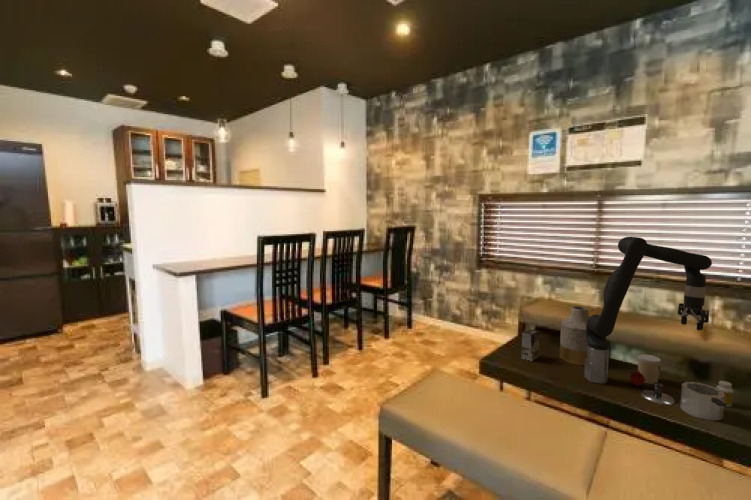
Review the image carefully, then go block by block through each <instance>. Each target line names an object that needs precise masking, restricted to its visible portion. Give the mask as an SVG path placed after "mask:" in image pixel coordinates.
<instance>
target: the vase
mask: <svg viewBox="0 0 751 500" xmlns="http://www.w3.org/2000/svg"><path fill="white" fill-rule="evenodd" d="M589 317H590V314H589V309H588V307H585V306H580V305H579V306H578V305H575V306H571V309H570V312H569V315H568V317H567V318H565V319H563V320H561V322H560V338H559V339H560V340H559V341H560V342H559V358H560V359H561V360H563V361H564V362H566V363H569V364H573V365H576V366H577V365H578V366H583V367H585V359H587V349H588V342H587V338H586V324H587V320H588V318H589Z"/></svg>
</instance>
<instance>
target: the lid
mask: <svg viewBox="0 0 751 500" xmlns="http://www.w3.org/2000/svg"><path fill="white" fill-rule="evenodd" d="M652 385H653V386H654V388H653V390H651V389H645V390H642V391H641V392H640V394H641V396H642V398H644V399H645V400H647V401H650V402H652V403H655V404H659V405H663V404H664V405H666V406H667V405H668V406H670V405H674V404H675V403H676V402H675V399H674V398H673V397H672V396H670V395H668V394H666V393H664V392H663V388H664V386H665V385H664V384H663V383H660V382H658V383H657V382H654V383H653V384H652Z"/></svg>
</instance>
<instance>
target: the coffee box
mask: <svg viewBox="0 0 751 500" xmlns="http://www.w3.org/2000/svg"><path fill="white" fill-rule="evenodd" d="M521 333H522V335H521V337H522V338H521V358H520V359H521V360H525V359H526V360H525V361H528V360H529V362H533V361H535V360H537V359H538V358H539V352H540V351H539V348H540V345H539V344H540V331H539V330H536V329H531V328H529V329H526V330H524V331H523V332H521Z"/></svg>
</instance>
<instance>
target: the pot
mask: <svg viewBox="0 0 751 500" xmlns="http://www.w3.org/2000/svg"><path fill="white" fill-rule="evenodd" d="M680 389H681V390H680V391H681V392H680V402H679V405H680V409H681V410H682V411H684V412H685V413H686V414H687V415H691V416H693V417H695V418H698V419H702V420H706V421H711V422H712V421H713V422H714V421H715V422H716V421H717V422H718V421H721V420H722V419H724V407H727V406H726V403H724V400H725V395H724V393H723V392H722V391H720V390H719V389H717V388H716V387H714V386H711V385H708V384H705V383H702V382H696V381H689V380H681V388H680Z"/></svg>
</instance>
